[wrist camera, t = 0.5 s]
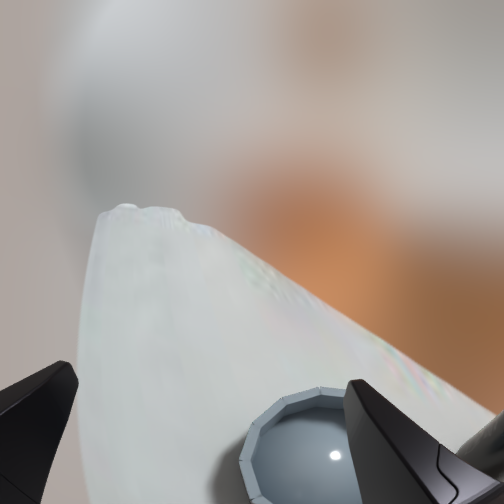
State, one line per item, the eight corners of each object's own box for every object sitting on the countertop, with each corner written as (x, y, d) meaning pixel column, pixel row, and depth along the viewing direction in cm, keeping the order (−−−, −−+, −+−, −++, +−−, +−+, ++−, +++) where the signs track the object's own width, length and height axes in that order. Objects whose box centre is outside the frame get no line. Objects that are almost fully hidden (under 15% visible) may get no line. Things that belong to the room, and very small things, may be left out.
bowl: (414, 488, 13) (432, 479, 11) (267, 551, 10) (269, 553, 9) (356, 387, 23) (364, 370, 22) (227, 424, 21) (224, 409, 19)
